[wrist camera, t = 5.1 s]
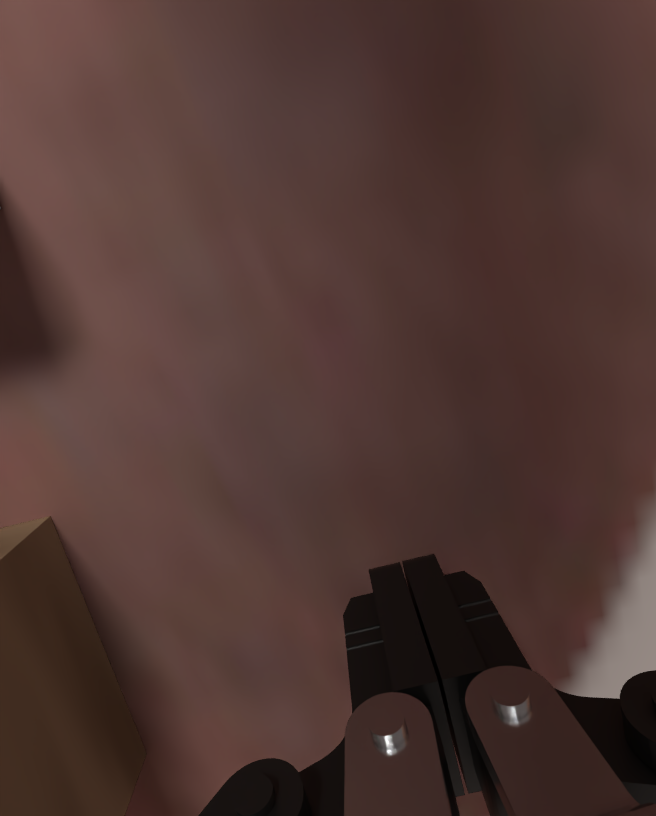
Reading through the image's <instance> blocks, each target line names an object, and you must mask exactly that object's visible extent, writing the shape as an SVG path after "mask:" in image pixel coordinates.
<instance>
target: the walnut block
mask: <svg viewBox="0 0 656 816" xmlns="http://www.w3.org/2000/svg"><path fill="white" fill-rule="evenodd" d="M146 754H147V753H146V751H145V748H144V746H143V743H142V741H141V738H140V736H139V733H138V731H137V729H136V726H135V724H134V721H133V719H132V716H131V714H130V711H129V709H128V706H127V704H126V701H125V699H124V697H123V694H122V692H121V689H120V687H119V684H118V682H117V679H116V677H115V674H114V672H113V669H112V667H111V665H110V662H109V660H108V657H107V655H106V652H105V650H104V647H103V645H102V642H101V640H100V637H99V635H98V632H97V630H96V628H95V625H94V623H93V620H92V618H91V615H90V613H89V610H88V608H87V605H86V603H85V600H84V598H83V596H82V593H81V591H80V588H79V586H78V583H77V581H76V578H75V576H74V573H73V571H72V568H71V566H70V564H69V561H68V559H67V556H66V554H65V551H64V549H63V546H62V544H61V541H60V539H59V536H58V534H57V532H56V529H55V527H54V524H53V522H52V519H51V517H50V516H49V517H45V518H40V519H36V520H32V521H28V522H24V523H20V524H16V525H11V526H7V527H3V528H0V816H125V813H126V810H127V808H128V805H129V802H130V799H131V796H132V793H133V791H134V788H135V785H136V782H137V779H138V777H139V774H140V771H141V768H142V765H143V762H144V760H145V757H146Z"/></svg>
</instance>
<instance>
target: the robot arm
mask: <svg viewBox="0 0 656 816" xmlns="http://www.w3.org/2000/svg"><path fill="white" fill-rule="evenodd" d="M402 563H403V568H404V572H405V576H406V580H405V577H404V574H403V570H402V567H401V564H400V562H398V563H394V564H390V565H386V566H382V567H378V568H373V569H369V574H370V579H371V584H372V589H373V593H370V594H366V595H361V596H357V597H353V598H351V599H350V601H349V604H348V606H347V608H346V610H345V612H344V615H343V618H344V628H345V635H346V636H345V638H346V648H347V659H348V669H349V680H350V690H351V700H352V715H351V716H350V718H349V720H348V723H347V726H346V731H345V737H344V739H343V740H342V741H341V743H340V744H339V745H338V746H337V747H336V748H335V749H334V750H333V751H332V752H331V753H330V754H329V755H327V756H326V757H324V758H323V759H321V760H320V761H318V762H316V763H314V764H313V765H311V766H309V767H307V768H306V769H304V770H302V771H301V772H299V773H298V771H297V770H296V769H295V768H294V767H293V766H292V765H291V764H289V763H288V762H286V761H283V760H280V759H275V758H271V759H262V760H258V761H255V762H252V763H250V764H248V765H246V766H244V767H243V768H241V769H240V770H238V771H237V772H236V773H235V774H234V775H232V776H231V777H230V778H229V779H228V780H227V782H226V783H225V784H224V785H223V786H222V787H221V789H220V790H219V791H218V792H217V794H216V795H215V796H214V797H213V798H212V800H211V801H210V802H209V803H208V805H207V806H206V807H205V808H204V809H203V811H202V812H201V813H200V814H199V816H460V814H459V810H458V806H457V802H456V797H457V796H462V795H465V793H464V789H463V785H462V781H461V776H460V772H459V768H458V764H457V759H456V755H455V751H456V754H457V758H458V761H459V764H460V767H461V771H462V774H463V777H464V780H465V783H466V787H467V790H468V793H473V792H478V791H482V793H483V796H484V798H485V801H486V804H487V807H488V810H489V813H490V816H656V670H655V671H647V672H643V673H640V674H638V675H636V676H633V677H632V678H631V679H629V680H628V681H627V682H626V683H625V684H624V686H623V688H622V690H621V693H620V699H612V698H592V697H581V696H575V695H571V694H567V693H564V692H561V691H559V690H557V689H555V688H553V686H552V685H551V684H550V683H549V682H548V681H547V680H546V679H545V678H544V677H542V676H541V675H539V674H538V673H536V672H534V671H532V670H531V668H530V667H529V665H528V663H527V661H526V660H525V658H524V656H523V654H522V653H521V651H520V649H519V648H518V646H517V644H516V642H515V641H514V639H513V637H512V635H511V634H510V632H509V630H508V628H507V627H506V625H505V623H504V621H503V620H502V618H501V616H500V615H499V614H498V611H497V609H496V608H495V606H494V604H493V602H492V601H491V600H490V597H489V595H488V594H487V592H486V590H485V588H484V587H483V585H482V583H481V582H480V581H478V580H477V579H475V578H474V577H472V576H471V575H469V574H468V573H466V572H465V571H461V572H456V573H452V574H448V575H443V572H442V570H441V568H440V566H439V564H438V562H437V559H436V557H435V555H434V554H431V555H427V556H422V557H418V558H414V559H410V560H406V561H402ZM406 581H407V583H406ZM407 585H408V586H407ZM453 745H454V747H453ZM454 748H455V751H454Z"/></svg>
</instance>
